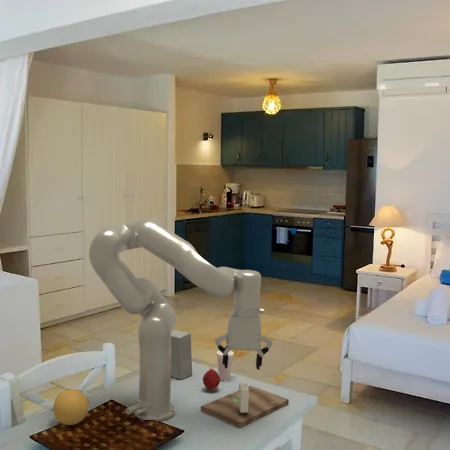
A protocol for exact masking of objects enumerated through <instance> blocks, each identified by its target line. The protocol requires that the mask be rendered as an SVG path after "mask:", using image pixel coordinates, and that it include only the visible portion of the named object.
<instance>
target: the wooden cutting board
mask: <svg viewBox="0 0 450 450" xmlns="http://www.w3.org/2000/svg"><path fill="white" fill-rule="evenodd" d="M247 386H248V389H249V399H248V413H247V414H240V413H238V407H239V404H238V400H239V399H238V395H239V389H238V390H237V391H234V392H232V393H230V394H229V393H228V394H226V395H224V396H221V397H220V398H217V399H215V400H213V401H210V402H207V403H206V404H202V405H201V406H200V412H202V413H205V414H206V415H209V416H210V417H213V418H215V419H217V420H220V421H222V422H224V421H225V422H224V423H226V422H227V423H226V424H229V425H231V426H233V427H235V428H238V429H242V428H244V427H246V426H247V425H249V424H251V423H253V422H256V421H258V420H259V419H262V418H264V417H266V416H268V415H270V414H271V413H274V412H276V411H278V410H280V409H282V408H284V407H287V406H288V405H290V403H289V401H290V399H288V398H285V397H283V396H281V395H277V394H275V393H272V392H270V391H266V390H263V389H262V388H260V387H259V388H258V387H255V386H253V385H247Z"/></svg>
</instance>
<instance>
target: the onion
mask: <svg viewBox="0 0 450 450" xmlns="http://www.w3.org/2000/svg"><path fill="white" fill-rule="evenodd" d="M202 383H203V386H204V387H205V388H206V389H207V390H209V391H213V390H215V389H216V388H218V386H219V385H220V383H221V380H220V377H219V372H218V371H216V370H214V369H213V367H210V368H209V370H207V371H206V372H205V373H204V375H203V377H202Z"/></svg>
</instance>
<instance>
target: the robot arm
mask: <svg viewBox="0 0 450 450" xmlns="http://www.w3.org/2000/svg"><path fill="white" fill-rule="evenodd" d="M140 248H143V249H144V250H146V251H147V252H149V253H151V254H153V255H154V256H156V257H157V258H159V259H160V260H162V261H163V262H166V263H167V264H168V265H170V266H172V267H173V268H174V269H176V271H177V272H178V273H180V274H181V275H182V276H184V278H186V279H187V280H188V281H189V282H191V283H192V284H194V285H195V286H197V287H198V288H200V289H201V290H202V291H205V293H207V294H209V295H211V296H213V297H215V298H220V299H222V298H225V297H226V298H227V297H229V296H230V295H231V294H232V293H233V292H234V295H233V296H234V297H233V298H234V299H233V309H232V310H233V312H232V313H231V314H230V316H229V318H228V319H229V320H228V323H227V324H228V325H227V331H226V333H225V334H222V335H220V336H218V337H216V338H214V343H215V345H216V347H217V349H218V351H219V350H220V351H221V352H222V353H223V365H224V366H225V368H226V369H227V368H228V353H229V352H230V351H251V352H252V351H255V352H256V353H257V354H256V357H255V359H256V360H255V367H256V370H258V371H260V367H262V366H263V365H262V364H263V357H264V355H265V354H267V353H268V352H269V351H270V349H271V347H272V345H273V341H272V340H270V339H269V338H267V337H265V336H263V335H262V321H261V315H262V314H264V312H265V311H264V308H261V307H260V299H261V298H260V297H261V288H262V287H261V285H262V275H261V273H260V272H259V271H256V270H251V269H238V268H232V267H228V266H220V267H216V266H214V265H213V264H211V263H210V262H208V261H207V260H206V259H204V258H203V257H202V256H201V255H200V254H199V253H198V252H197V250H196V248H195V247H194V246H193V245H192V244H191V242H189V241H187V240H185V239H184V238H182V237H180V236H179V235H177V234H176V233H174V232H172V230H169V229H168V228H167V227H166V224H165V223H164V221H162V220H161V219H160V218H155V217H151V218H146V219H141V220H136V221H130V222H126V223H118V224H114V225H111V226H107V227H106V228H103V229H101V230H100V231H98V232H97V233H96V234H95V236H94V237H93V239H92V240H91V242H90V247H89V250H88V257H89V262H90V264H91V267H92V268H93V271H94V272H95V273H96V275H97V276H98V278H100V280H101V281H102V283H103V284H104V285H105V286H106V288H107V290H109V292H110V293H111V295H112V296H113V297H114V298H115V300H116V302H117V303H118V304H119V305H120V307H121V308H122V309H123V310H124V312H126V313H128V314H130V315H140V316H141V317H142V319H141V320H140V323H139V326H138V329H137V331H138V332H137V333H138V346H139V366H138V367H139V370H138V371H139V373H138V374H139V381H138V382H139V383H138V385H139V387H138V399H136V400H135V404H134V405H132V406H129V407H126V408H125V413H126V414H127V415H134V414H135V415H134V416H135V417H136V416H137V417H138V419H139V418H140V419H139V420H141V419H143V420H142V421H145V420H155V421H154V422H161V421H165V420H168V419H170V418H172V417H173V416H175V413H176V407H175V406H174V404H172V403H171V390H172V389H171V385H172V382H171V381H172V377H171V332H172V331H173V330H174V327H175V325H176V323H177V322H176V321H177V317H176V313H175V311H174V309H173V307H172V306H171V305H170V304H169V302H168V301H167V300H166V298H165V297H164V296H163V294H162V293H161V292H160V291H159V289H158V288H157V287H156V285H155V284H153V282H152V281H150V280H149V279H148V278H144V277H136V276H135V274H134V273H133V272H132V271H131V269H130V268H129V266H127V264H126V263H125V262H123V260H122V259H121V258H120V254H121V253H122V252H125V251H129V250H134V249H140ZM260 314H261V315H260ZM224 341H225V344H226V343H227V345H225V346H223V345H222V343H221V342H224ZM262 342H263V343H264V344H265V346H263V348H262V349H261V347H262V346H261V345H262ZM137 417H136V418H137Z"/></svg>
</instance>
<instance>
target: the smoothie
mask: <svg viewBox="0 0 450 450" xmlns="http://www.w3.org/2000/svg"><path fill="white" fill-rule="evenodd" d="M225 344H226V345H227V343H226V342H225ZM226 345H225V346H226ZM215 354H216V355H215V356H216V357H217V358H216V359H217V368H218V369H217V370H218V371H217V372H218V375H219V377H220V381H222V380H227V381H230V379H231V372H232V365H233V361H234V360H233V358H234V356H235V353H234V351H233V350H231V351H230V352H229V353H228V368H227V369H226V368H225V366H224V365H223V353H222V352H221V351H220V350H219V349H218V350H217V351H216V353H215Z"/></svg>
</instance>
